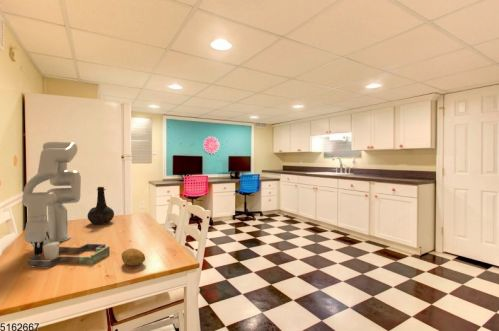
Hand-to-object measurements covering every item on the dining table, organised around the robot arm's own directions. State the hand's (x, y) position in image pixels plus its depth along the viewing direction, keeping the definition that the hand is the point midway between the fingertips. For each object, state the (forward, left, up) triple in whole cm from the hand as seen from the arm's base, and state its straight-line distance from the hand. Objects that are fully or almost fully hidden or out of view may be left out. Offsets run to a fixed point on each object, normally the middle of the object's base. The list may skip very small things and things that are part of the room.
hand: (38, 254), depth 133 cm
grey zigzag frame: (+18, 0, -1) cm, 18 cm away
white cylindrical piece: (+7, 0, -1) cm, 7 cm away
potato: (+53, -5, -1) cm, 53 cm away
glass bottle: (-11, +65, -1) cm, 66 cm away
